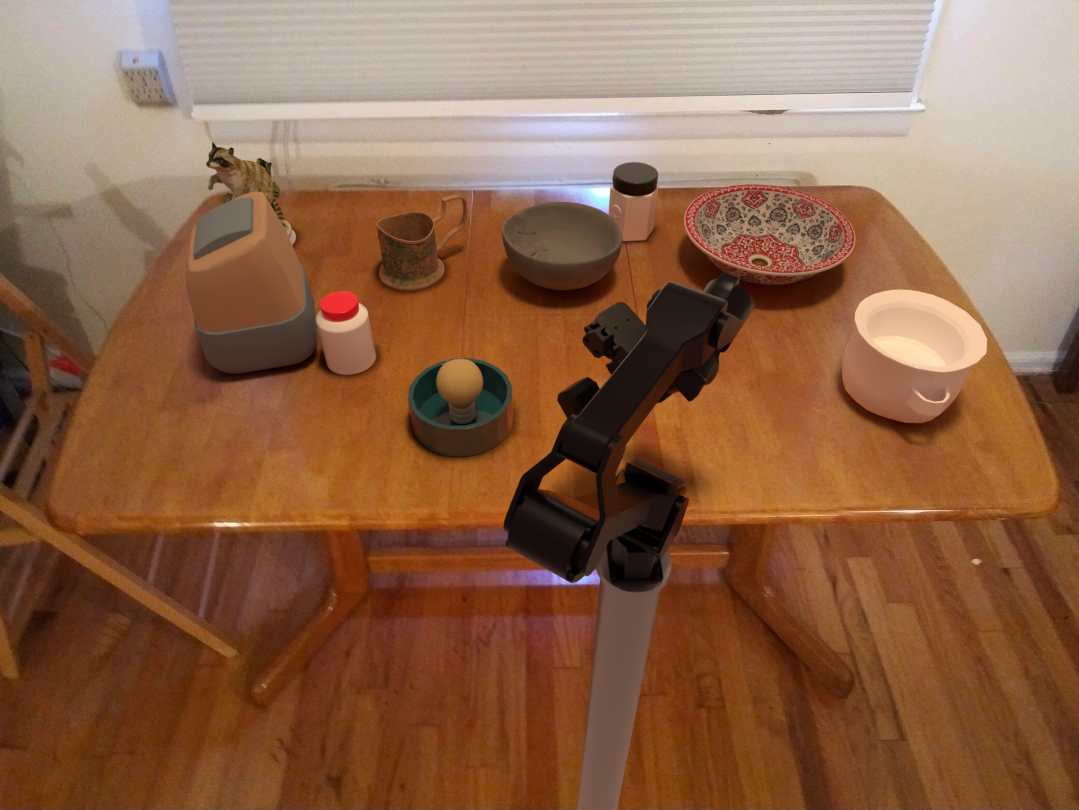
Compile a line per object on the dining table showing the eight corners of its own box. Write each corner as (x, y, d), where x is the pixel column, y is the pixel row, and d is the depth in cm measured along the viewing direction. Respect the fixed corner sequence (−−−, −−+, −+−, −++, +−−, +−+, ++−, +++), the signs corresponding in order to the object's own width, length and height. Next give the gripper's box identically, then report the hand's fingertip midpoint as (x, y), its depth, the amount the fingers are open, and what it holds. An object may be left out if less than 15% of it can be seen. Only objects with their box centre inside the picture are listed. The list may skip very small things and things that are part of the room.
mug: (485, 265, 140) (482, 206, 132) (397, 298, 133) (388, 238, 125) (453, 237, 147) (448, 178, 139) (368, 267, 140) (357, 207, 132)
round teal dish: (513, 455, 108) (512, 428, 104) (408, 458, 107) (403, 430, 103) (512, 384, 118) (511, 357, 114) (417, 386, 117) (412, 359, 114)
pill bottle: (335, 340, 125) (322, 284, 118) (382, 345, 124) (372, 288, 117) (319, 372, 120) (304, 315, 112) (368, 377, 119) (356, 320, 111)
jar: (598, 226, 150) (602, 168, 141) (631, 213, 153) (636, 156, 145) (629, 247, 145) (634, 189, 136) (662, 234, 148) (669, 175, 140)
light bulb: (482, 399, 115) (478, 347, 108) (488, 430, 110) (484, 377, 103) (438, 405, 114) (432, 352, 107) (443, 436, 109) (436, 383, 102)
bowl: (601, 322, 129) (605, 271, 122) (486, 298, 133) (483, 248, 126) (631, 257, 142) (636, 208, 135) (525, 237, 147) (525, 189, 140)
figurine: (215, 251, 144) (180, 148, 130) (266, 217, 152) (239, 117, 138) (262, 268, 140) (231, 164, 126) (312, 233, 148) (288, 132, 134)
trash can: (214, 320, 129) (167, 193, 113) (317, 305, 132) (286, 179, 116) (210, 387, 117) (157, 256, 101) (323, 368, 120) (289, 238, 104)
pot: (817, 343, 125) (837, 280, 116) (926, 345, 124) (955, 282, 116) (851, 443, 109) (878, 379, 101) (976, 447, 109) (1014, 382, 100)
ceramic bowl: (712, 207, 155) (718, 169, 150) (860, 247, 145) (873, 209, 139) (652, 281, 137) (657, 242, 131) (817, 333, 127) (829, 293, 121)
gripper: (689, 266, 87) (610, 303, 101) (572, 339, 78) (502, 369, 91) (734, 353, 89) (650, 377, 102) (624, 435, 79) (548, 450, 93)
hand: (590, 391), depth 97 cm, fingers open, 9 cm apart
